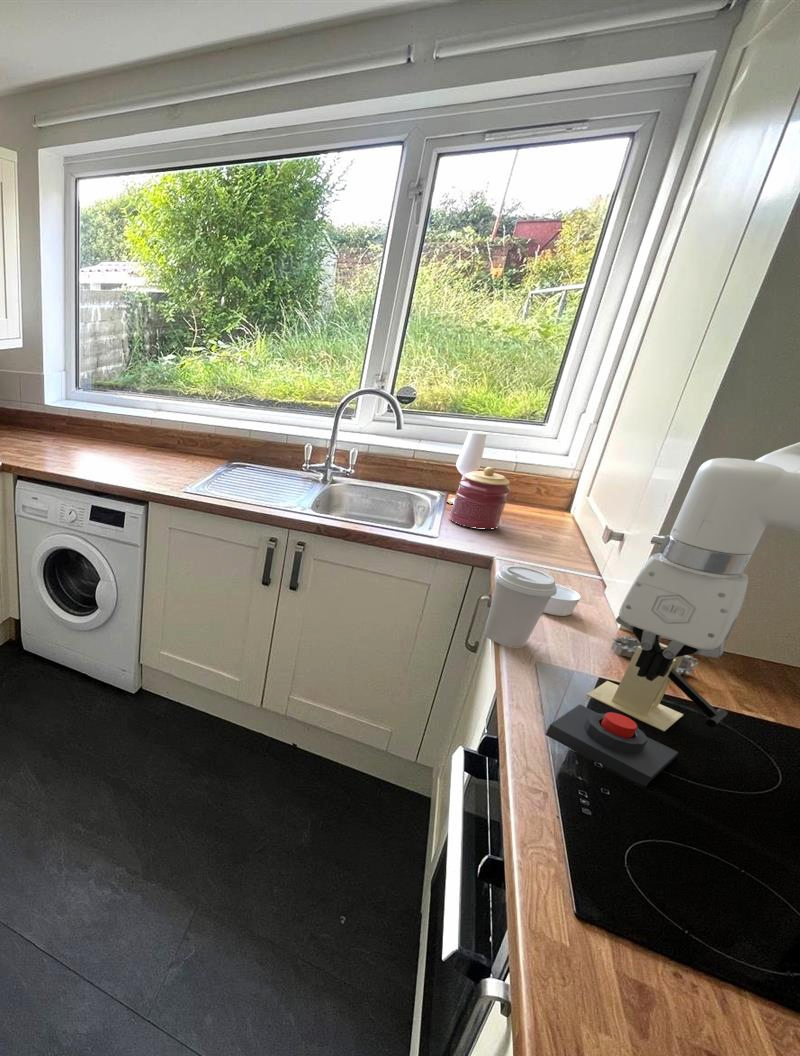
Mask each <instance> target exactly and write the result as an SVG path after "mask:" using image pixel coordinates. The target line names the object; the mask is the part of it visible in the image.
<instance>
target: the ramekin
mask: <svg viewBox="0 0 800 1056" xmlns="http://www.w3.org/2000/svg"><path fill="white" fill-rule="evenodd" d="M555 585H556V588H557V593H556V594H555V595H553V596H551V598H550V600H549V601H548V603H547V605H546V607H545V609H544V611H543V612H542V614H543V613H544V614H547V615H550V616H557V617H567V616H569V615H571V614H572V613H573V612H574V610H575V608H576V606H577V604H578V603H579V602H580V600H581V599H582V596H581V594H580V593H578V592H577V591H575V590H574V589H572V588H570V587H567V586H564V585H561V584H559V583H555Z"/></svg>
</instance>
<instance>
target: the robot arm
mask: <svg viewBox="0 0 800 1056" xmlns="http://www.w3.org/2000/svg"><path fill="white" fill-rule="evenodd" d="M767 527H777V528H782V529H787V530H791V531H797V532H800V441H799V442H796V443H793V444H790V445H788V446H785V447H781V448H779V449H776V450H774V451H772V452H769V453H766V454H764V455H762V456H760V457H759V458H757V459H755V460H752V459H745V458H733V457H716V458H711V459H708V460H706V461H704V462H703V463H702V464H701V465H700V466H699V467H698V469H697V471H696V473H695V476H694V478H693V480H692V482H691V485H690V487H689V489H688V492H687V494H686V496H685V498H684V501H683V503H682V505H681V507H680V510H679V512H678V515H677V517H676V519H675V521H674V523H673V526H672V528H671V530H670V533H669V534H666V535H659V534H654V535H653V536H652V538H651V540H650V544H652V545H655V546H656V547H658V548H659V550H660V551H659V552H658V553H654V554H652V555H650V557H649V558H648V559H647V561H646V562H645V563H644V564H643V566H642V568H641V569H640V571H639V572H638V574H637V576H636V577H635V579H634V581H633V582H632V584H631V586H630V588H629V590H628V592H627V594H626V595H625V598H624V599H623V602H622V604H621V605H620V607H619V611H618V616H617V617H616V619H615V622H616V623H617V624H619V625H620V626H622V627H624V628H625V629H627V630H628V631H632V634H634V636H635V637H636V639H637V641H638V642H640V643H641V644H640V646H641V648H642V652H641V654H640V656H639V658H638V660H637V663H636V665H635V666H637V667H639V668H640V669H639V671H638V673H637V676H640V677H645V676H646V677H645V678H647V680H650V681H653V680H654V679H655V678H657V677H658V676H662V677H664V676H665V675H666V674H667V672H668V670H669V668H670V666H671V664H672V662H673V660H674V658H675V657H679V656H684V655H688V656H690V655H698V656H702V657H706V658H712V659H718V658H720V657H721V656H722V655H723V654H724V648H725V641H727V639H728V638H729V637H730V635H731V633H732V631H733V629H734V627H735V625H736V622H737V618H738V617H739V614H740V612H741V609H742V606H743V603H744V600H745V597H746V594H747V588H748V584H749V576H748V575H747V574H746V573H744V572H745V570H746V568H747V566H748V563H749V562H750V561H751V560H750V559H751V557H752V555H753V554H754V552H755V550H756V548H757V545H758V544H759V541H760V540H761V538H762V536H763V535H764V531H765V530H766V528H767ZM661 637H662V638H665V639H668V640H671V641H670V642H669V643H668V645H667V647H666V648H664V649H663V650H662V649H661V647H660V646H661V645H660V644H659V643H661V639H662V638H661Z"/></svg>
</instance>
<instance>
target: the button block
mask: <svg viewBox="0 0 800 1056" xmlns="http://www.w3.org/2000/svg"><path fill="white" fill-rule="evenodd" d="M605 714H606V713H599V712H596V711H594V710H593V709H590V708H588V707H587V706H584V705H582V704H578V705H577V706H575V707H573V708H572V709H571V710H569V711H568V712H566V713H565V714H563V715H562V716H561V717H559V718H557V719H556V720H554V721H553V722H551V723H550V724H549V726H548V728H547V731H546V733H545V736H546V737H548V738H550V739H551V740H554V741H555V742H557V743H560V744H561V745H563V746H565V747H566V748H569V749H571V750H572V751H574V752H576V753H577V754H579V753H580V754H579V755H581V754H582V755H581V756H583V755H584V756H583V757H585V756H586V757H585V758H587V757H588V758H587V759H589V758H590V759H591V761H592V760H593V761H592V762H594V761H596V762H598V763H601V764H602V765H604V766H606V767H608V768H610V769H612V770H614V771H616V772H618V773H620V774H622V775H623V776H625V777H627V778H628V779H630V780H632V781H634V782H636V783H639V784H641V785H644V786H647V785H648V784H650V782H651V781H653V780H654V779H655V778H656V777H657V776H658V775H659V774H660V773H661V772H662V771H663V770H665V769H666V768H667V766H669V765H670V764H671V763H672V762H673V761H674V760H675V759H676V757H677V756H678V754H679V752H678V751H677V750H675V749H673V748H671V747H669V746H667V745H664V744H663V743H661V742H659V741H656V740H654V739H652V738H650V737H648V736H647V735H646V733H645V732H644V731H643V730H641V729H640V728H639V727H637V729H636V731H635V733H634V735H633V737H631V738H624V737H621V736H617V735H615V734H613V733H611V732H609V731H607V730H606V729H604V728H603V727H602V726H601V722H602V720H603V718H604V716H605ZM590 759H589V760H590ZM596 762H595V763H596ZM598 763H597V764H598ZM602 765H601V766H602Z"/></svg>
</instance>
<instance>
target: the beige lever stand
mask: <svg viewBox="0 0 800 1056" xmlns="http://www.w3.org/2000/svg"><path fill="white" fill-rule="evenodd" d="M659 644H660V645H661V646H660V647H661V649H662V650H663V649H664V648H666V647H667V646H668V645H666V644H664V643H661V642H660V643H659ZM641 652H642V648H641V646H638V647H637V649H636V651H635V653H634V655H633V657H632V658H630V662H629V664H628V665H627V667H626V670H625V672H624V674H623V676H622V679H621V680H620V682H619V684H616V683H614V682H611V681H609V680H606V681H605V682H603V683H602V684H600V685H598V686H597V687H596V688H594V689H593V690H591V691H589V692H588V693H587V694H586V696H588V697H590V698H592V699H594V700H596V701H598V702H600V703H602V704H604V705H607V706H609V707H611V708H613V709H615V710H618V711H619V712H622V713H623V714H626V715H628V716H630V717H632V718H635V719H636V720H638V721H641V722H643V723H645V724H647V725H649V726H651V727H653V728H656V729H658V730H660V731H662V732H663V733H664V732H666V731H667V730H668V729H669V728H670V727H671V726H673V725H674V724H675V723H676V722H678V720H680V719H681V718H682V717H684V715H685V714H684V713H681V712H679V711H677V710H675V709H673V708H670V707H668V706H666V705H663V704H662V703H661V702H662V700H663V698H664V695H665V694H666V692H667V690H668V689H669V686H670V684H671V683H672V682H673V681H672V680H670V679H669V678H668V675H669V673H670V671H671V669H672V668H673V669H674V670H675V671H677V669H678V667H679V665H680V663H681V661H682V659H683V658H684V656H685V655H684V656H679V657H675V658H674V660H673V662H672V664H671V666H670V668H669V670H668V672H667V674H666V675H665V676H664V677H662V676H658V677H657V678H655V679H654V680H653V681H650V680H647V678H645V677H646V676H645V677H640V676H637V673H638V671H639V669H640V668H639V667H637V666H635V665H636V663H637V660H638V658H639V656H640V654H641Z"/></svg>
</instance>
